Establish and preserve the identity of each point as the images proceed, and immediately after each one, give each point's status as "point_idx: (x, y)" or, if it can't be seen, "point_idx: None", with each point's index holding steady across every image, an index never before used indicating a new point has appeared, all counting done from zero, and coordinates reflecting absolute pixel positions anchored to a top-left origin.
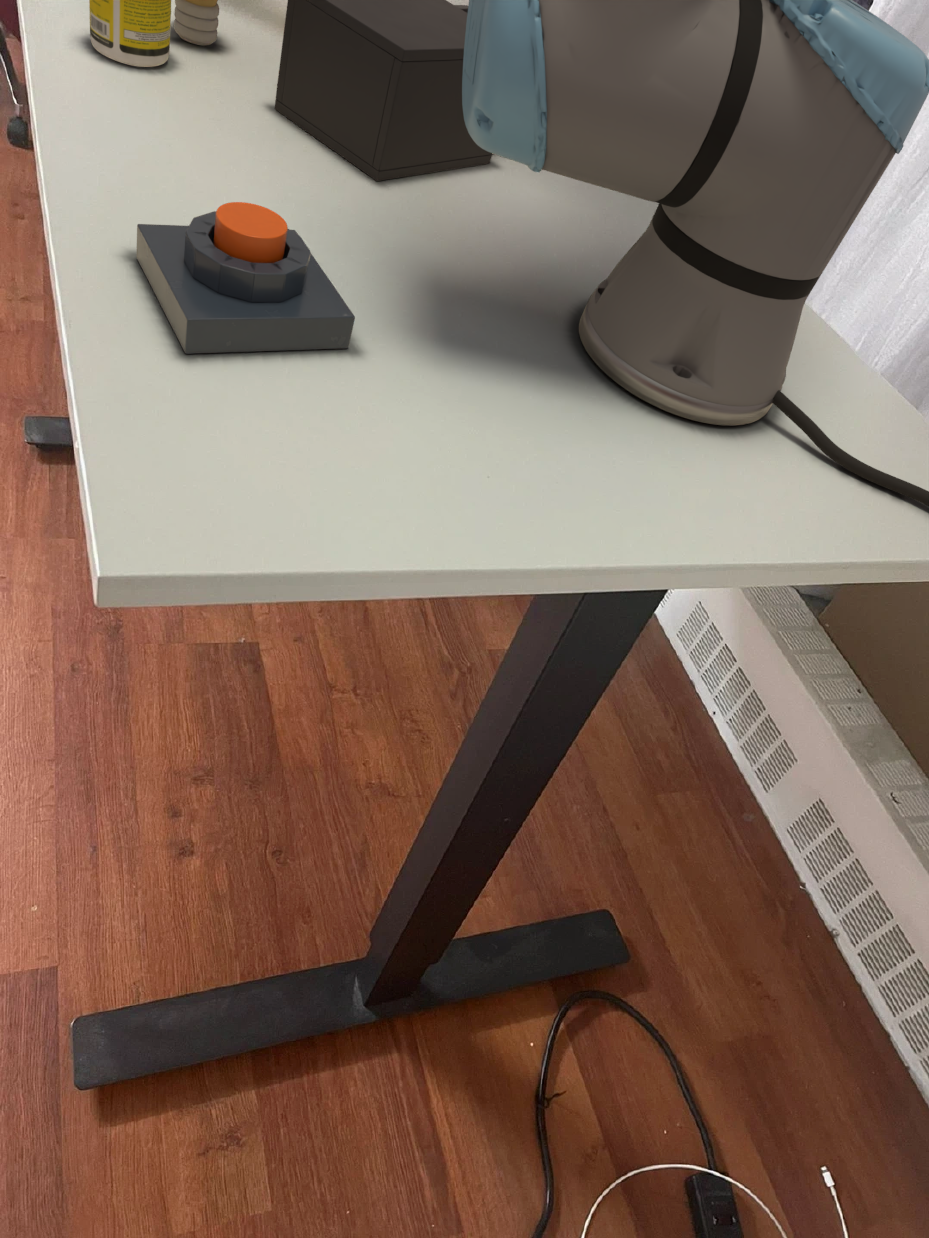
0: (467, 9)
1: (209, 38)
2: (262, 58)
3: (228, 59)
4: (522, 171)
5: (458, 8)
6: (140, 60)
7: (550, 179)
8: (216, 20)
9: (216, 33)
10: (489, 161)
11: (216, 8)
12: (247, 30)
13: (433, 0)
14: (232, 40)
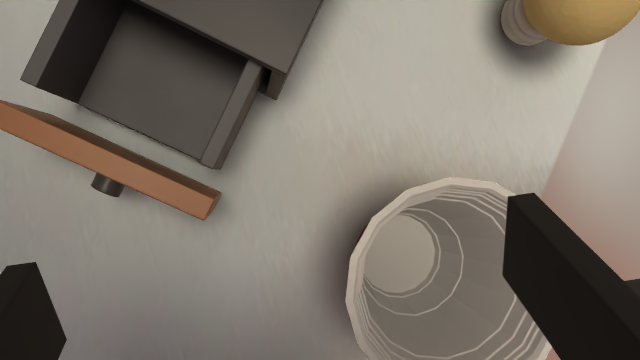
0: (205, 148)
1: (505, 5)
2: (448, 55)
3: (471, 5)
4: None
5: (191, 20)
6: None
7: (4, 48)
8: (513, 15)
9: (505, 20)
10: None
11: (521, 8)
12: (502, 132)
13: (235, 7)
14: (497, 74)
